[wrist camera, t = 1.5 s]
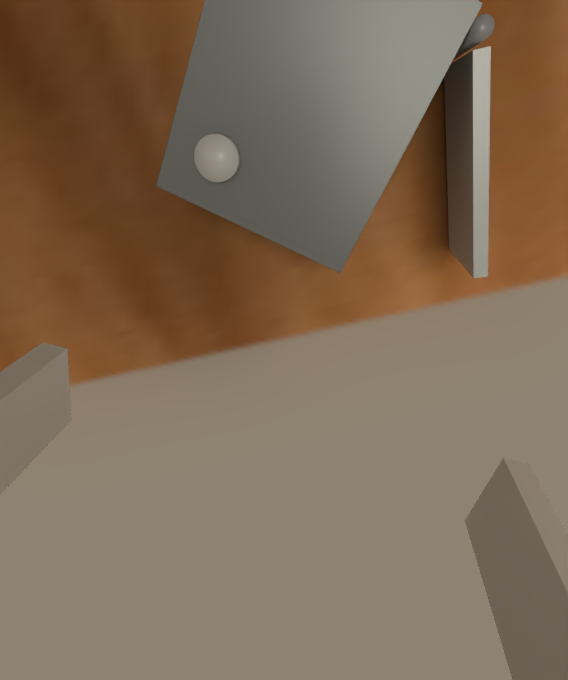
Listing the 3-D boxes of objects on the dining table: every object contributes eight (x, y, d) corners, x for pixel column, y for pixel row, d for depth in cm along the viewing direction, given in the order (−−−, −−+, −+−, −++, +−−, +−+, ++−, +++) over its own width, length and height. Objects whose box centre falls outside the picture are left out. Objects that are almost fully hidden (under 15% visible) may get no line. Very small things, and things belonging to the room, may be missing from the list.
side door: (444, 68, 26) (472, 50, 20) (465, 63, 26) (502, 43, 20) (449, 249, 31) (473, 278, 25) (467, 246, 31) (496, 275, 25)
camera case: (280, -89, 24) (248, -193, 16) (477, 16, 25) (535, -35, 17) (199, 173, 31) (150, 187, 24) (354, 247, 32) (356, 285, 25)
